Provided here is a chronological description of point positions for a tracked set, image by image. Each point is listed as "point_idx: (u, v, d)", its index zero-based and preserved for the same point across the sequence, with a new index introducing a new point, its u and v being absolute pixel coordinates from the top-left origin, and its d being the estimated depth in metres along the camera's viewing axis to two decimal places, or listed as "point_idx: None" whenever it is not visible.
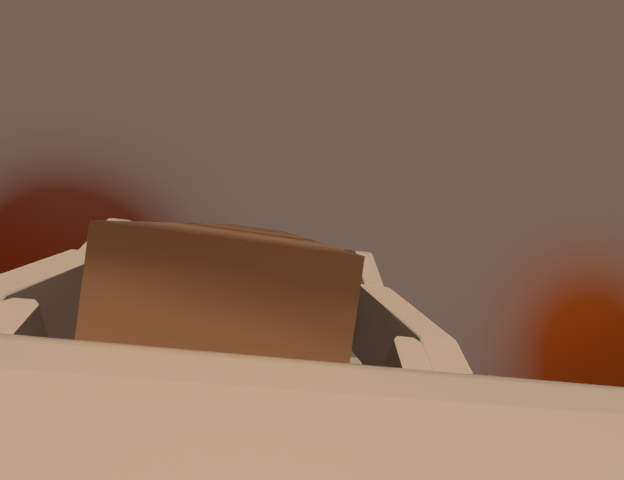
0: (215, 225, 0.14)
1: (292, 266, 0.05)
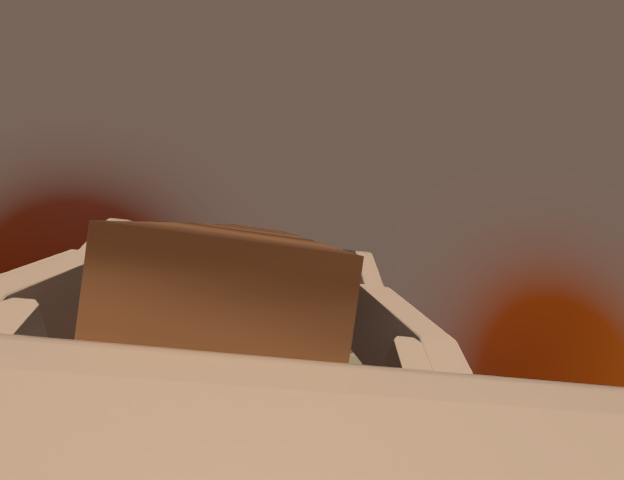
0: (215, 225, 0.14)
1: (292, 267, 0.05)
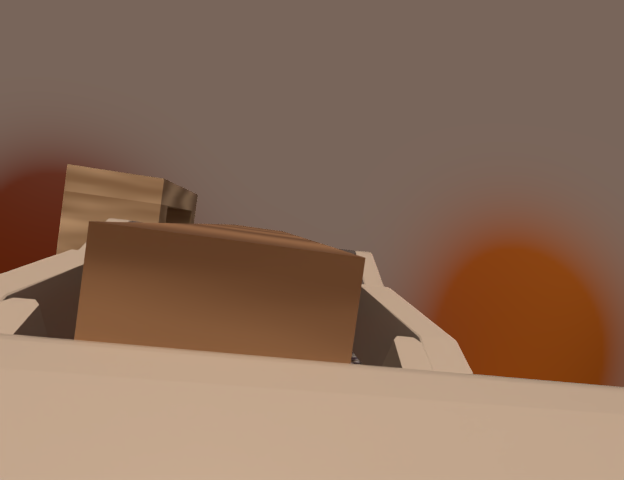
0: None
1: (293, 267, 0.05)
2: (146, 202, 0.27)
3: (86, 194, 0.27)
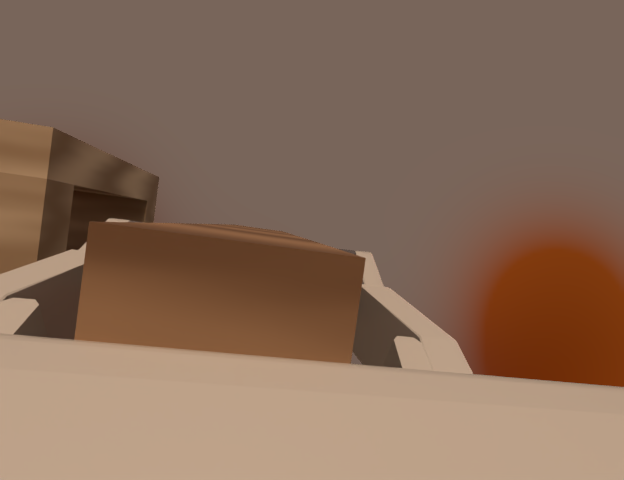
0: None
1: (292, 267, 0.05)
2: (16, 174, 0.14)
3: None
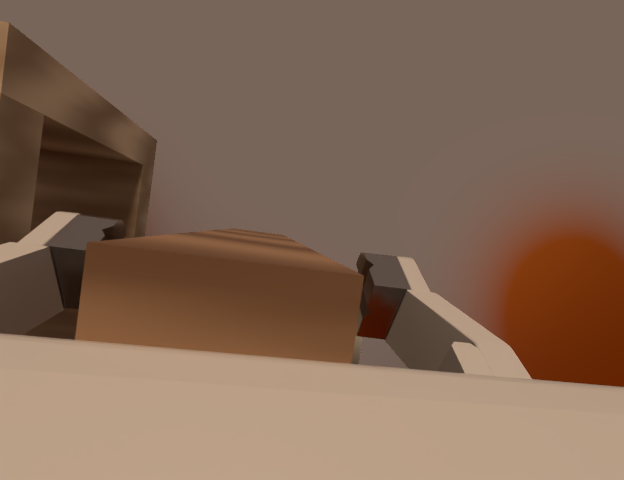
0: (214, 233, 0.14)
1: (291, 286, 0.05)
2: None
3: None
